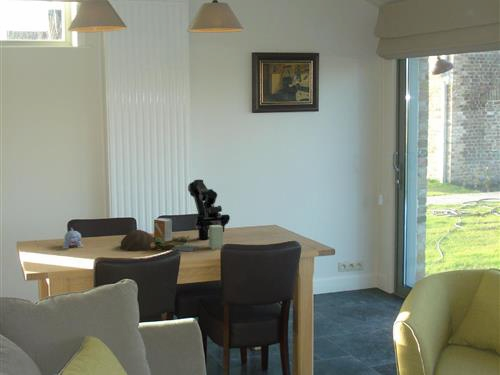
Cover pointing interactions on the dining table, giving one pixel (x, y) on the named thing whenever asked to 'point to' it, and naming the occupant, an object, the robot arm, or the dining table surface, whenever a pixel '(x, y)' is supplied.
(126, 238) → the decorative dome
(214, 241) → the sage block
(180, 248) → the slate mat
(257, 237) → the dining table surface
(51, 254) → the dining table surface
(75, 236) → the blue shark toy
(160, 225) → the small box
